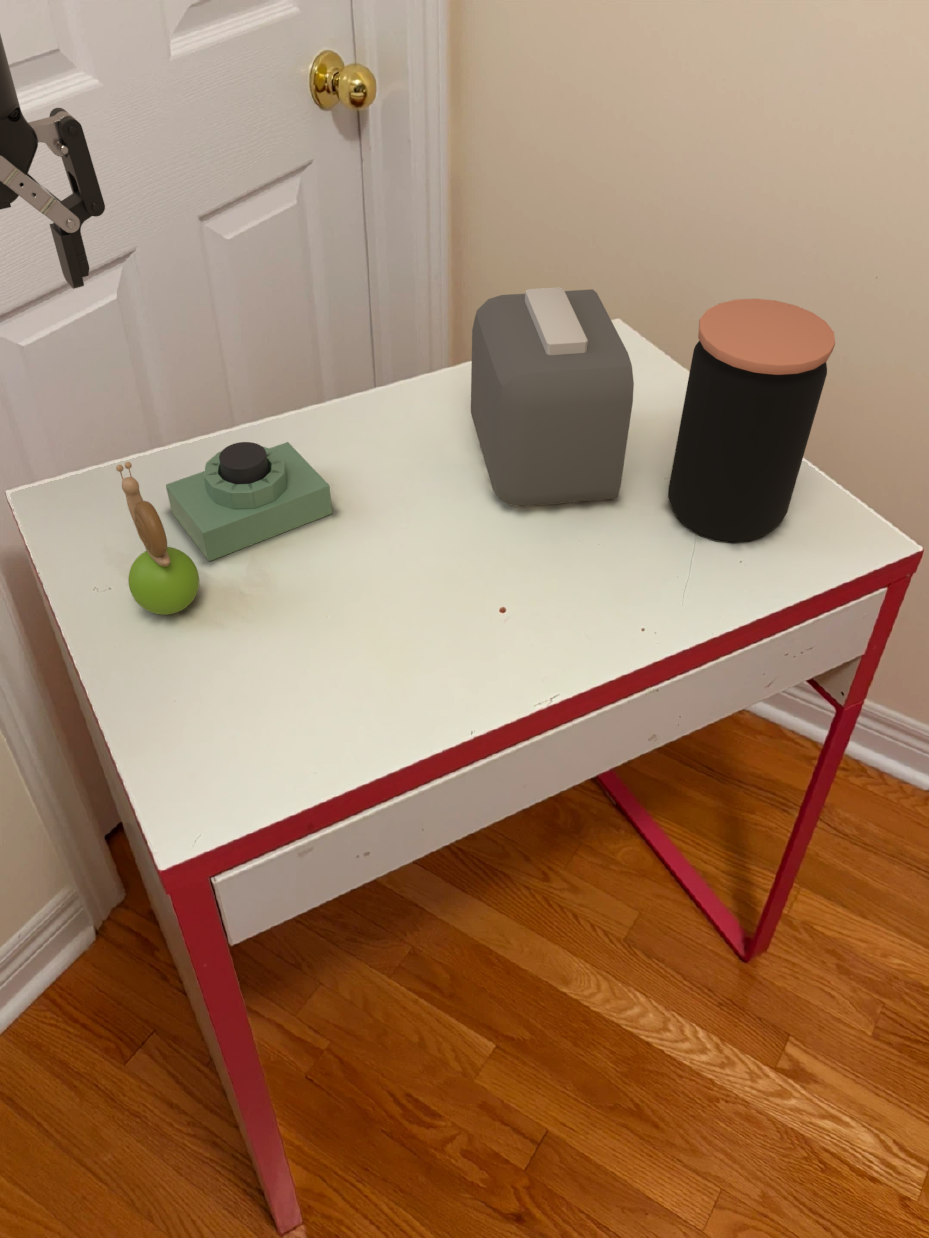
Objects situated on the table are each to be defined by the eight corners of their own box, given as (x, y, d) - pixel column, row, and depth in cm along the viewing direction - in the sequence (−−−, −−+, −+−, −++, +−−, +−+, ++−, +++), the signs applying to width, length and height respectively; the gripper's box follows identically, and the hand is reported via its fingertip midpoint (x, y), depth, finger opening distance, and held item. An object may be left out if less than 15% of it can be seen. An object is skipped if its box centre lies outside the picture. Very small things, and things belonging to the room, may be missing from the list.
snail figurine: (183, 568, 89) (155, 450, 80) (215, 611, 85) (189, 493, 77) (121, 591, 87) (86, 473, 78) (151, 637, 83) (118, 519, 74)
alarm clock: (616, 511, 95) (639, 358, 84) (493, 522, 94) (500, 368, 83) (575, 412, 106) (590, 266, 96) (465, 421, 105) (467, 274, 94)
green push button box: (208, 562, 89) (199, 516, 86) (171, 513, 94) (161, 467, 91) (332, 513, 94) (328, 468, 91) (291, 469, 99) (285, 424, 95)
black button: (234, 491, 89) (231, 474, 88) (214, 467, 91) (211, 451, 90) (276, 475, 91) (274, 459, 89) (256, 453, 93) (253, 436, 92)
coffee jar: (809, 520, 94) (865, 339, 82) (723, 563, 90) (768, 379, 77) (725, 462, 101) (765, 286, 88) (641, 499, 96) (670, 320, 84)
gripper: (32, -11, 62) (96, 252, 73) (-234, 25, 56) (-119, 305, 67) (75, 20, 58) (136, 295, 69) (-208, 63, 52) (-91, 356, 63)
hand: (9, 300), depth 68 cm, fingers open, 8 cm apart
